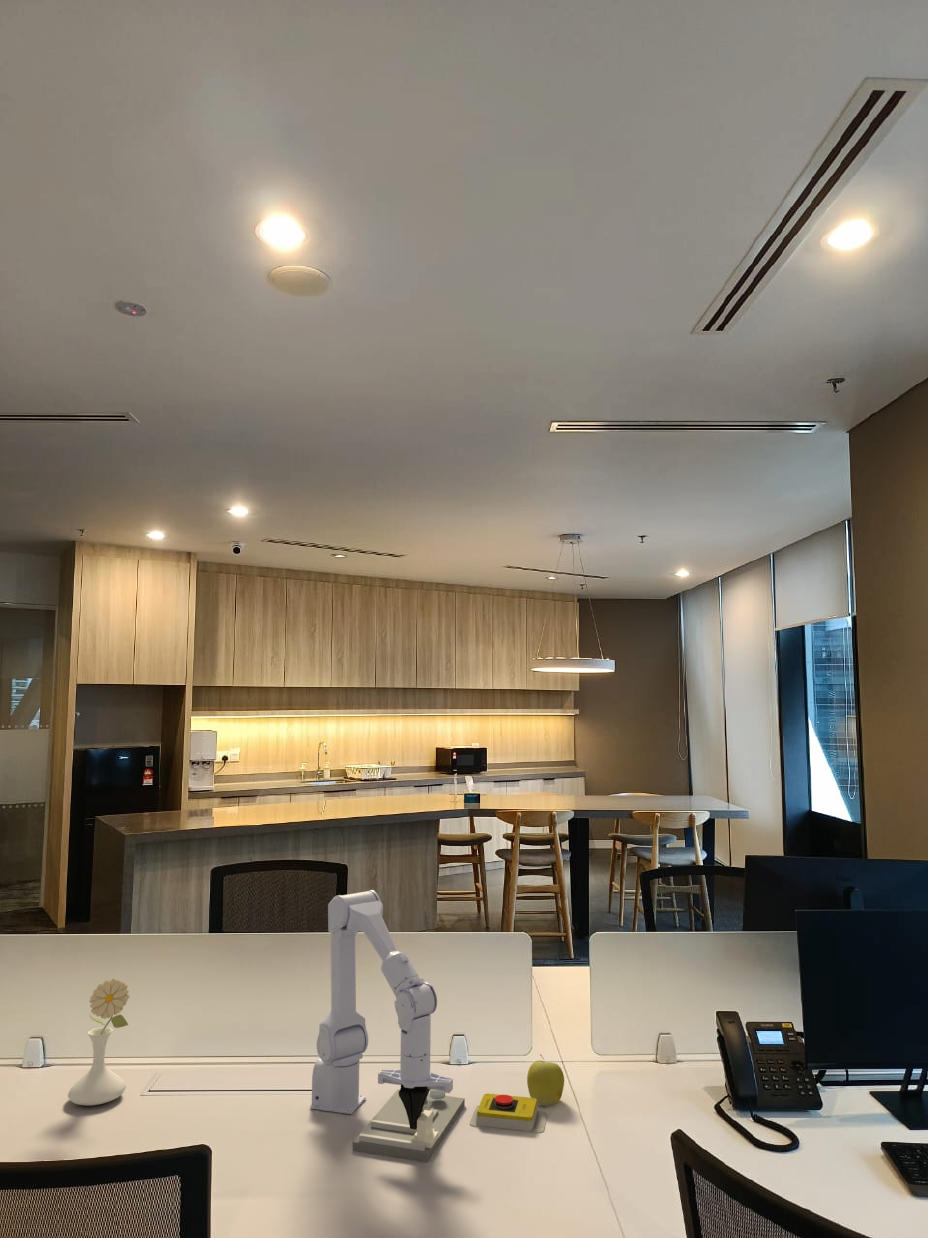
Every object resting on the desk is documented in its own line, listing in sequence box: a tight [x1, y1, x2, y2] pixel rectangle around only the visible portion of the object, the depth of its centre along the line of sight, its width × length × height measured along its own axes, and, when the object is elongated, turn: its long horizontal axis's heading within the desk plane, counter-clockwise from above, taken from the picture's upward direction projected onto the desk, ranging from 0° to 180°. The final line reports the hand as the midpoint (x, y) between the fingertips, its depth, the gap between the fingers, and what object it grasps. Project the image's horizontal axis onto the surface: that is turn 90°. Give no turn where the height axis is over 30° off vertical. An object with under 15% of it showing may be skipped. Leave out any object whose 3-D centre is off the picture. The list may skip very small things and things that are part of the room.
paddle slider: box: [411, 1110, 439, 1148], centre depth 162 cm, size 4×4×5 cm
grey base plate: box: [351, 1088, 466, 1163], centre depth 171 cm, size 15×24×2 cm, turn 164°
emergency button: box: [469, 1093, 548, 1134], centre depth 175 cm, size 9×4×15 cm
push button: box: [429, 1089, 446, 1099], centre depth 179 cm, size 3×3×2 cm
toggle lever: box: [422, 1098, 433, 1113], centre depth 173 cm, size 2×2×8 cm
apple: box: [526, 1054, 565, 1107], centre depth 183 cm, size 8×8×10 cm
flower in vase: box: [67, 978, 130, 1106], centre depth 184 cm, size 13×11×25 cm
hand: (414, 1127), depth 163 cm, fingers closed
